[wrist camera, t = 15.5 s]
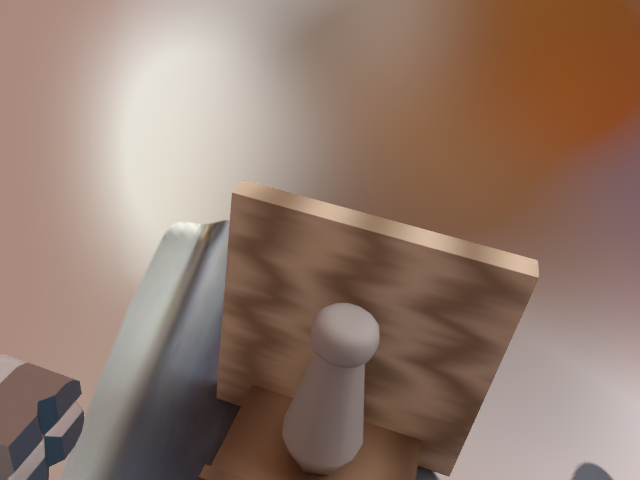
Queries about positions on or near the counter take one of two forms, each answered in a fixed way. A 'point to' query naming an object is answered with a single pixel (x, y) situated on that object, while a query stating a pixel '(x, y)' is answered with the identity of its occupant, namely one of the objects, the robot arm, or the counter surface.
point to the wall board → (376, 298)
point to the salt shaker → (332, 390)
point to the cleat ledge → (277, 463)
